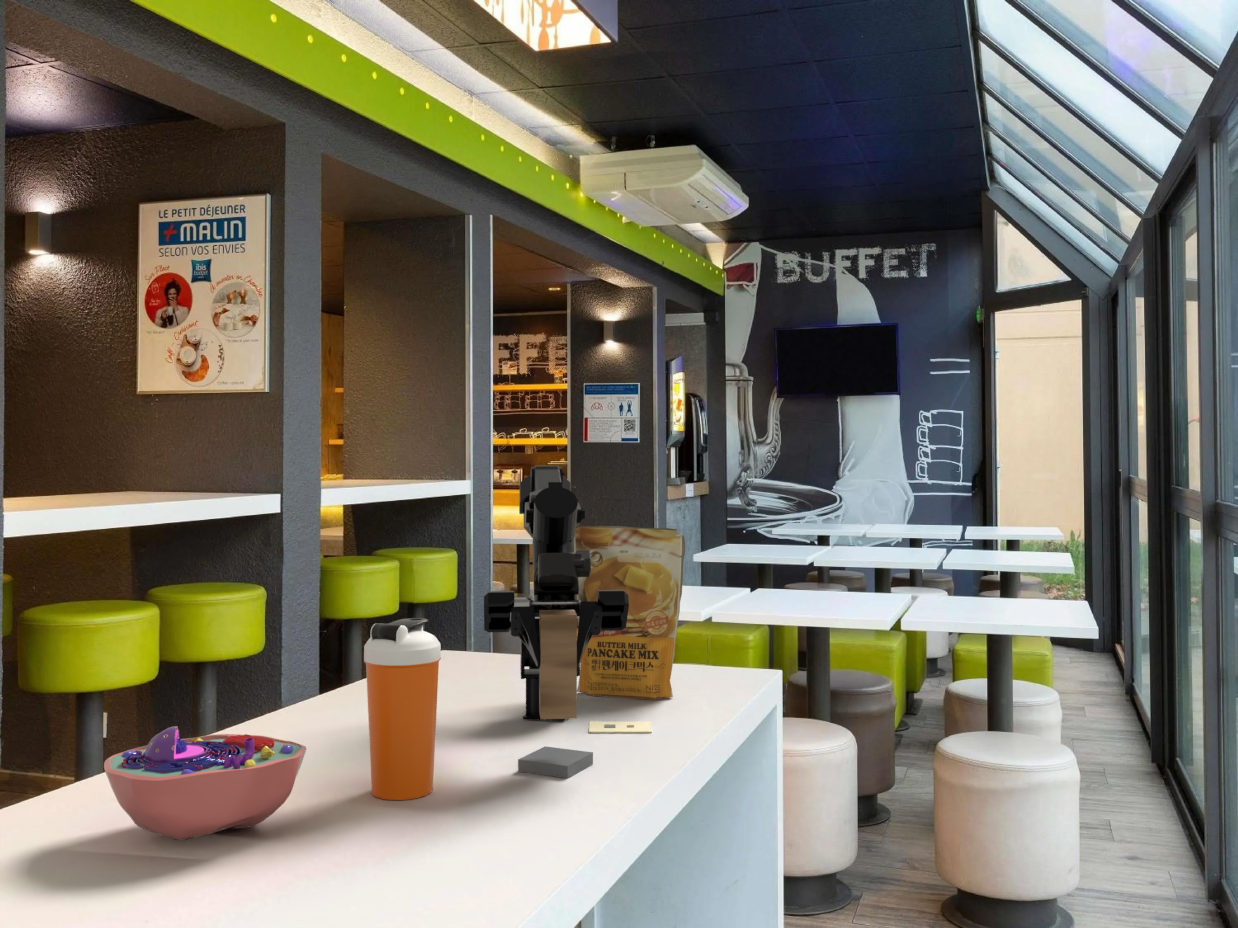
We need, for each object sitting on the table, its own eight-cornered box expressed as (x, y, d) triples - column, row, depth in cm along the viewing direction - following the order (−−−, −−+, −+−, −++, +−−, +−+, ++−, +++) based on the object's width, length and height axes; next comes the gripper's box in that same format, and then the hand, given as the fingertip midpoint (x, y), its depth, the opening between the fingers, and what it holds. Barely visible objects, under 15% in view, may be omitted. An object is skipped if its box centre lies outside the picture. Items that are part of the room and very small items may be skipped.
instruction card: (588, 732, 158) (588, 730, 158) (589, 722, 164) (589, 720, 164) (651, 732, 158) (651, 730, 158) (650, 722, 164) (650, 720, 164)
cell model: (307, 849, 111) (307, 736, 111) (88, 870, 105) (88, 751, 105) (305, 800, 127) (305, 701, 127) (115, 816, 121) (115, 712, 121)
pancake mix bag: (577, 687, 190) (577, 524, 190) (686, 693, 185) (686, 526, 185) (565, 695, 184) (565, 526, 184) (677, 702, 179) (677, 528, 178)
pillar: (539, 710, 142) (539, 610, 142) (574, 709, 143) (574, 609, 143) (540, 719, 138) (540, 615, 138) (576, 718, 138) (576, 614, 138)
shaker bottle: (454, 784, 133) (454, 618, 133) (417, 806, 124) (417, 628, 124) (389, 777, 136) (389, 614, 136) (348, 798, 127) (348, 624, 127)
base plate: (518, 771, 138) (518, 759, 138) (544, 757, 145) (544, 746, 145) (567, 777, 136) (567, 765, 136) (592, 763, 142) (592, 752, 142)
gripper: (484, 529, 143) (482, 628, 132) (627, 528, 145) (637, 625, 134) (484, 582, 151) (483, 680, 140) (620, 581, 153) (630, 677, 142)
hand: (558, 664), depth 139 cm, fingers closed on pillar, 4 cm apart
